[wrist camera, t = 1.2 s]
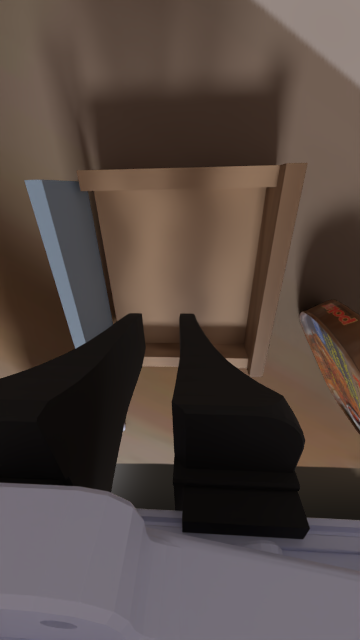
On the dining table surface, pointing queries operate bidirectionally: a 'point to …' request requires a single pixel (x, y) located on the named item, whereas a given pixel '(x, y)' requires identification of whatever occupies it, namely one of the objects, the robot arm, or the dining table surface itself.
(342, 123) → the dining table surface
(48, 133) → the dining table surface
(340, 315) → the tin
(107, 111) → the dining table surface
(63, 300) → the panel
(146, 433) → the dining table surface
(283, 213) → the light wood shallow box
